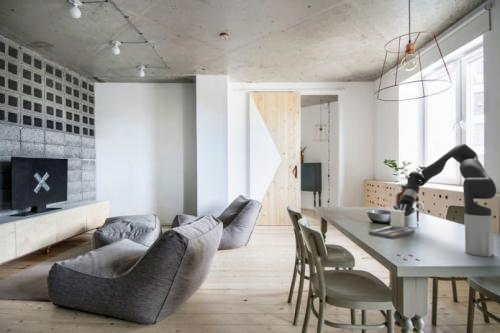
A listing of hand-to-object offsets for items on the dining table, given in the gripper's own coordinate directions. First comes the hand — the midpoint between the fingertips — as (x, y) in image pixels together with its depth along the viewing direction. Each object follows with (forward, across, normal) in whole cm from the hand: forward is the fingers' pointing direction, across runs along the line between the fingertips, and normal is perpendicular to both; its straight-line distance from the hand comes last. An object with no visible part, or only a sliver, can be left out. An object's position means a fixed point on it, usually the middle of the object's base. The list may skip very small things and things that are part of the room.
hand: (399, 220), depth 171 cm
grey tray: (+11, 0, +2) cm, 11 cm away
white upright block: (+5, 0, -2) cm, 6 cm away
